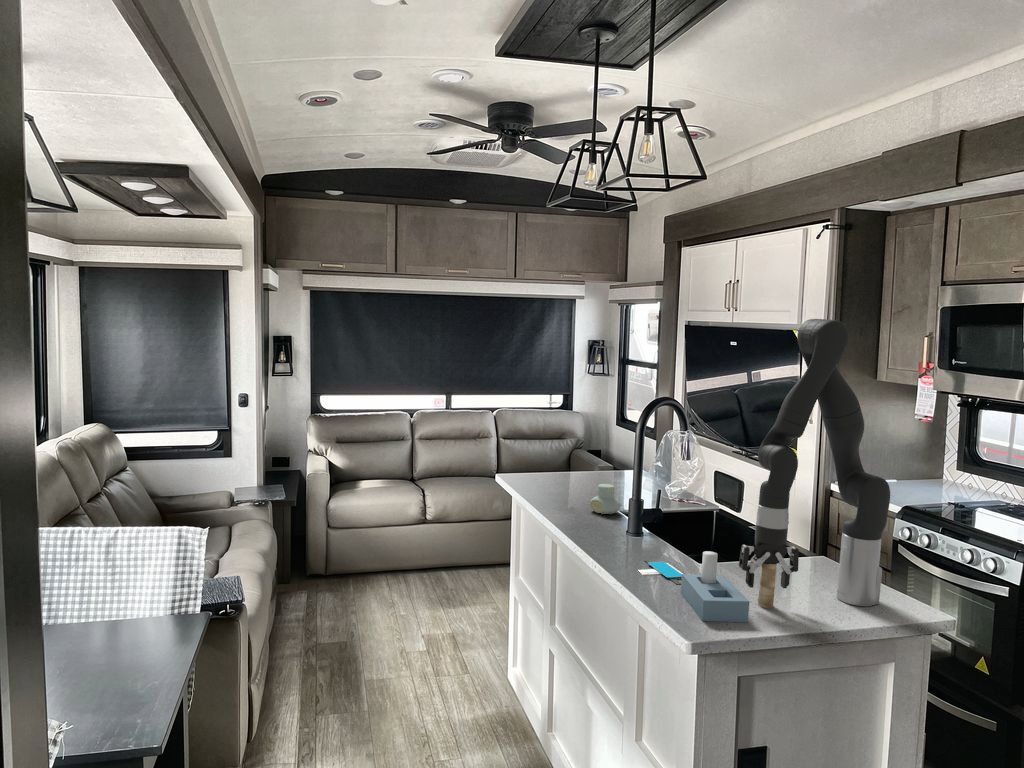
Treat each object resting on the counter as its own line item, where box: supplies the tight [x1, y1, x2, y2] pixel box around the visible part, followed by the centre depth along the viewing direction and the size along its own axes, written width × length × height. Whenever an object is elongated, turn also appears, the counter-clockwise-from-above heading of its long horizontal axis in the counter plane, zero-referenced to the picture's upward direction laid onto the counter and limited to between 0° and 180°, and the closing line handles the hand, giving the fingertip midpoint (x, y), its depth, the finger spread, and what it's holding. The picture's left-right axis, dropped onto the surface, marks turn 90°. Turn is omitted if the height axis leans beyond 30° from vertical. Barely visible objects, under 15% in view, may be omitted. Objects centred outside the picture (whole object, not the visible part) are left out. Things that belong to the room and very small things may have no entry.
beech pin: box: [757, 563, 777, 609], centre depth 189 cm, size 4×4×11 cm
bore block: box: [680, 550, 751, 623], centre depth 186 cm, size 11×18×12 cm, turn 4°
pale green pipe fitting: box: [589, 483, 621, 515], centre depth 272 cm, size 11×8×10 cm
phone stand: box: [637, 558, 687, 585], centre depth 211 cm, size 20×12×2 cm, turn 16°
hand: (766, 586), depth 189 cm, fingers open, 8 cm apart
